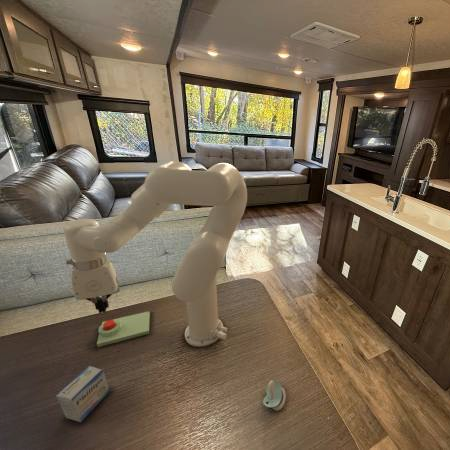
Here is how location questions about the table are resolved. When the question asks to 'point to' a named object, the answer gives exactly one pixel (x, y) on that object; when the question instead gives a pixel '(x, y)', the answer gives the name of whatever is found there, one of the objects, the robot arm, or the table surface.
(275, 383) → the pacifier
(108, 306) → the robot arm
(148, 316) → the green button pad
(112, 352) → the table surface
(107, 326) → the tare button
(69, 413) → the medicine box
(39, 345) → the table surface
